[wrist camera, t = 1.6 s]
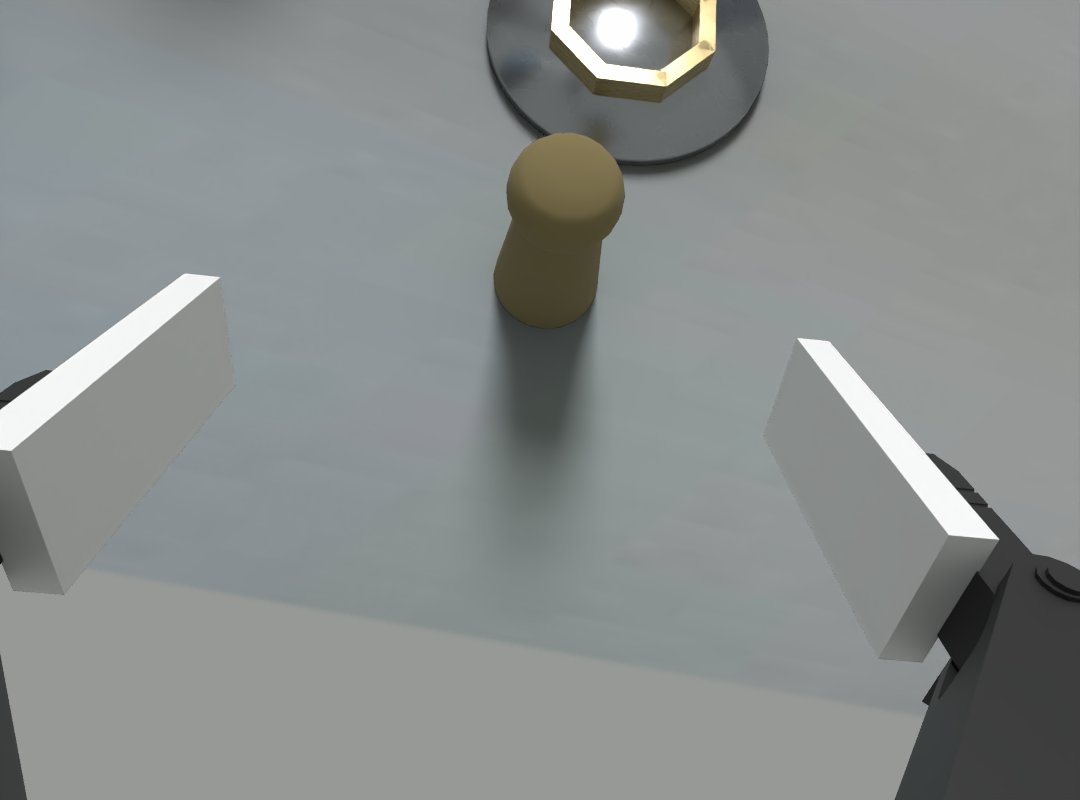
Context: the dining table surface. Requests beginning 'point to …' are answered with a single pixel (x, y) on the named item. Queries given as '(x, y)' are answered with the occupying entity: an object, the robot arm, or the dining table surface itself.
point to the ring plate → (631, 70)
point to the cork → (557, 228)
